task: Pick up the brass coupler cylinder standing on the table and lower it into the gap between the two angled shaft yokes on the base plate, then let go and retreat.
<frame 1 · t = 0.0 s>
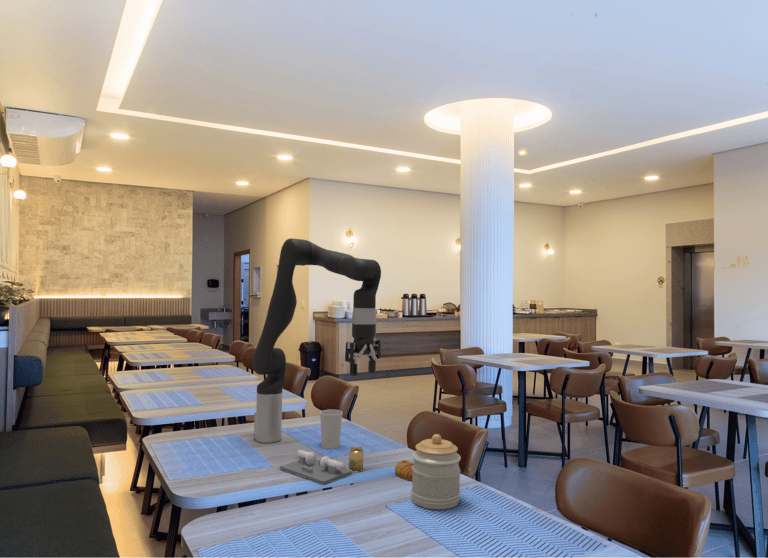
hand: (362, 374, 168), 29 cm above the table, fingers open, 8 cm apart
jar: (435, 501, 143), on the table
pastry: (408, 476, 162), on the table
shaft rig: (315, 471, 163), on the table
coupler: (356, 469, 166), on the table
cup: (330, 446, 190), on the table
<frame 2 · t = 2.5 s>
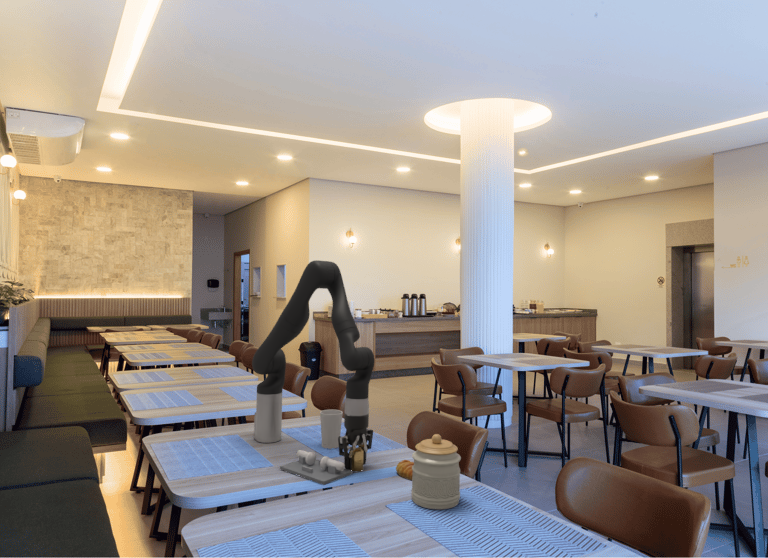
hand: (355, 466, 166), 1 cm above the table, fingers open, 6 cm apart
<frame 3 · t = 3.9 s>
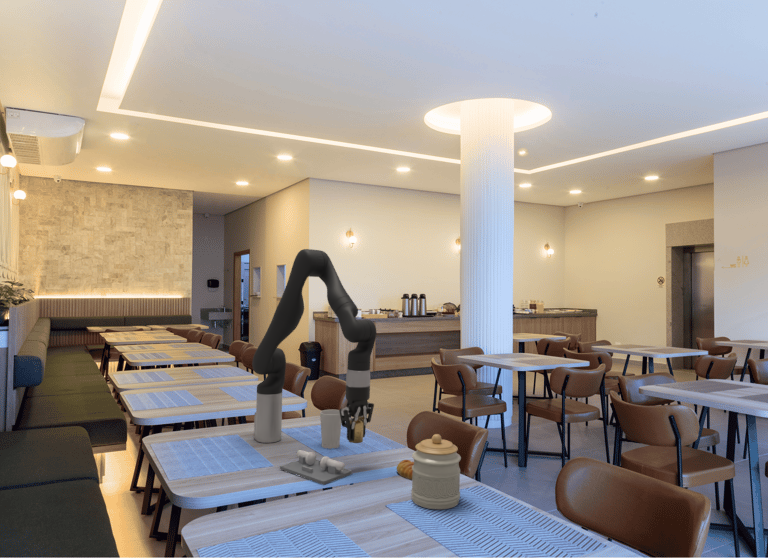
hand: (355, 438, 167), 9 cm above the table, fingers closed on coupler, 4 cm apart
coupler: (355, 441, 167), point 9 cm above the table, touching gripper
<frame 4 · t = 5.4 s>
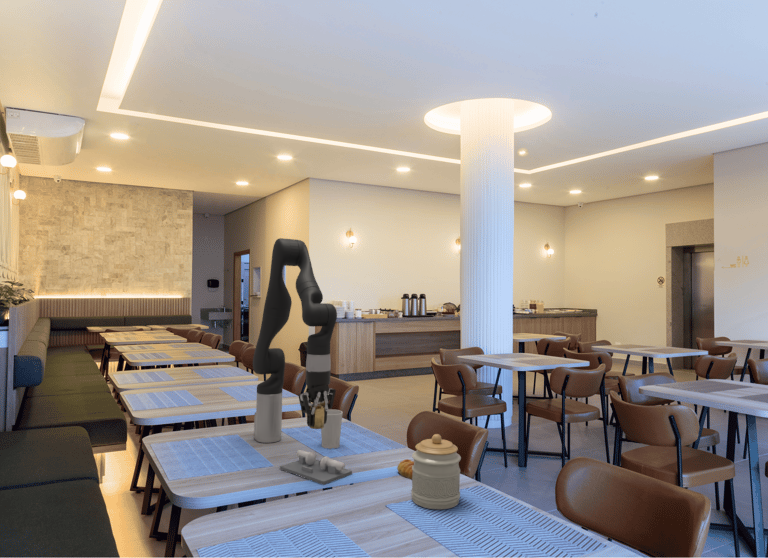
hand: (316, 424, 164), 14 cm above the table, fingers closed on coupler, 4 cm apart
coupler: (316, 427, 164), point 14 cm above the table, touching gripper
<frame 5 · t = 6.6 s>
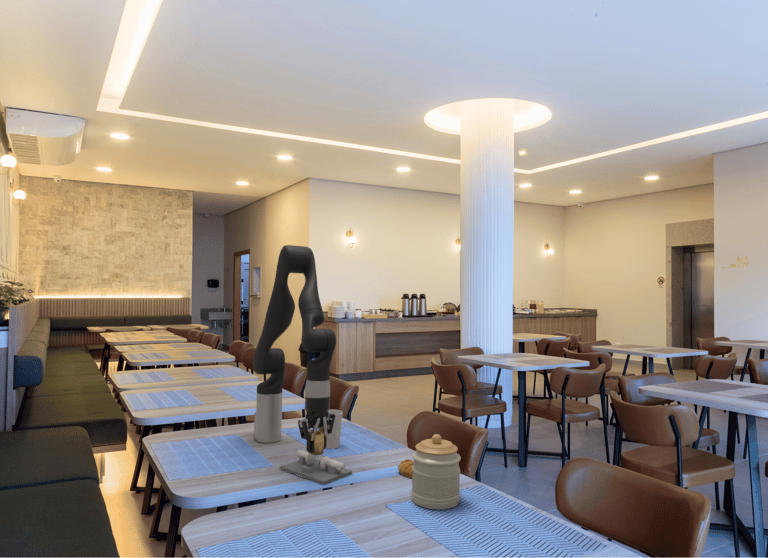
hand: (316, 450, 163), 7 cm above the table, fingers closed on coupler, 4 cm apart
coupler: (316, 452, 163), point 6 cm above the table, touching gripper
when the fingers open (3 cm above the table, at t = 7.7 s): coupler drops 1 cm, resting on shaft rig.
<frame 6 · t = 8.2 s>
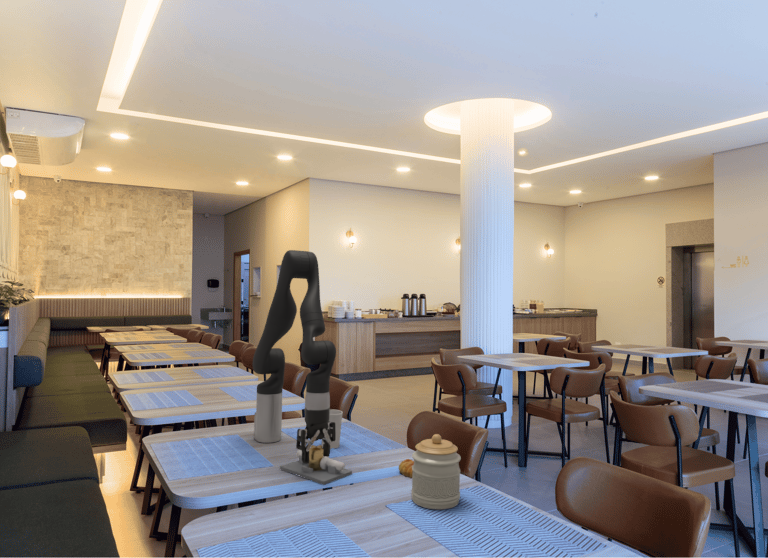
hand: (316, 459, 163), 4 cm above the table, fingers open, 8 cm apart
coupler: (315, 468, 164), point 1 cm above the table, touching shaft rig
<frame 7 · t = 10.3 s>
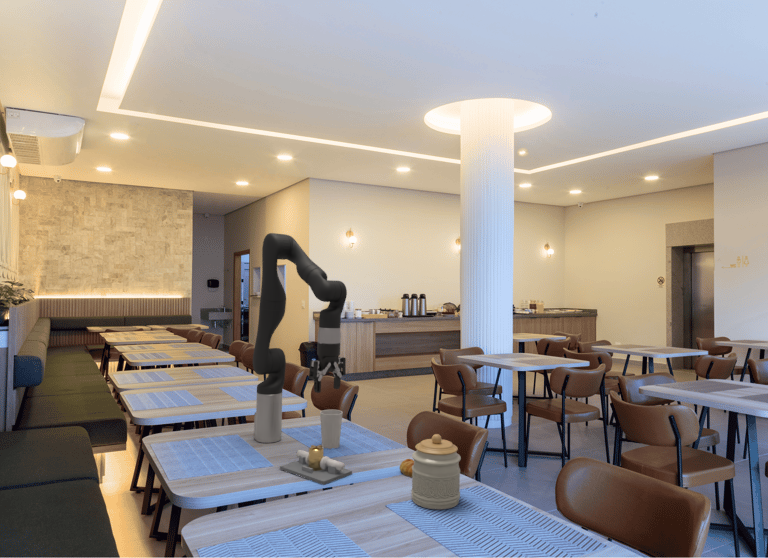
hand: (327, 390, 176), 22 cm above the table, fingers open, 8 cm apart
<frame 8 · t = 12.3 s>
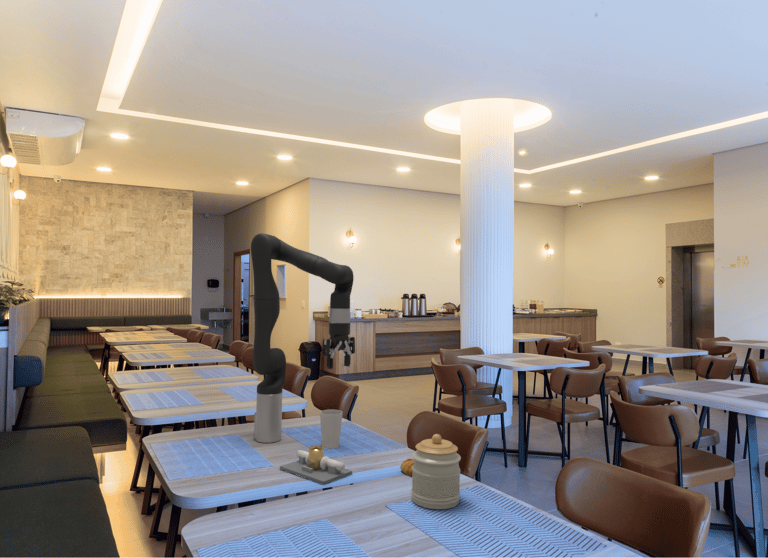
hand: (338, 367, 189), 28 cm above the table, fingers open, 8 cm apart
at the end: coupler 0.1 cm off-centre on the shaft rig, point 1.0 cm above the shaft rig's base; coupler tilted 0°; the gripper is holding nothing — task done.
